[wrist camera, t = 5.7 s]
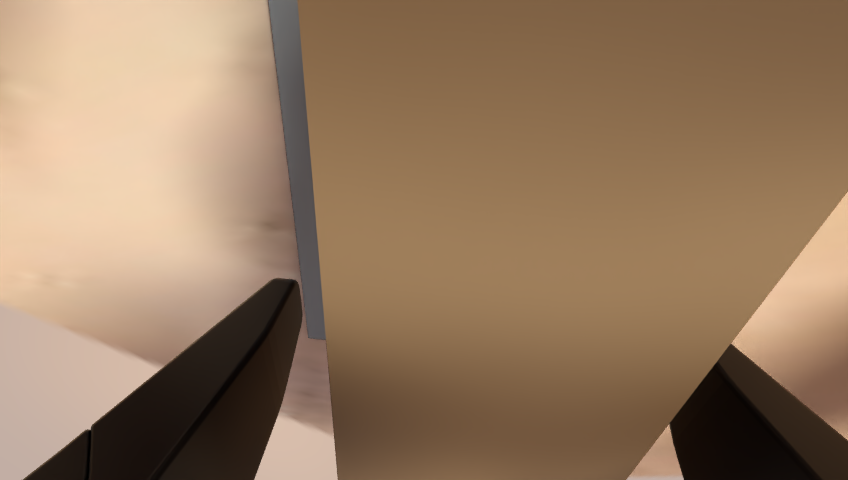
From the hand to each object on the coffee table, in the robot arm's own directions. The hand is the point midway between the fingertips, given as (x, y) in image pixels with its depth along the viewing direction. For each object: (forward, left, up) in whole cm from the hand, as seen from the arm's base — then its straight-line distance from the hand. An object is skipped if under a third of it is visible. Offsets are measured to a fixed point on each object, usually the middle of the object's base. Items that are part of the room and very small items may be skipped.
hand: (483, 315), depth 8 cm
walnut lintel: (0, 0, -2) cm, 2 cm away
